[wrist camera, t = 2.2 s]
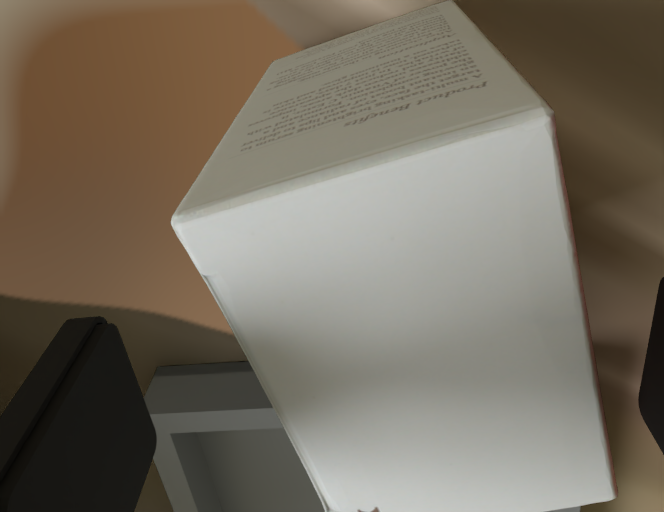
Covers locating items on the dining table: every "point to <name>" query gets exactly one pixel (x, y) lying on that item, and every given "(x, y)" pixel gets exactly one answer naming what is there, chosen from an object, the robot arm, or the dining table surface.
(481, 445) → the small box
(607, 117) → the dining table surface
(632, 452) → the dining table surface
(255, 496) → the tray
